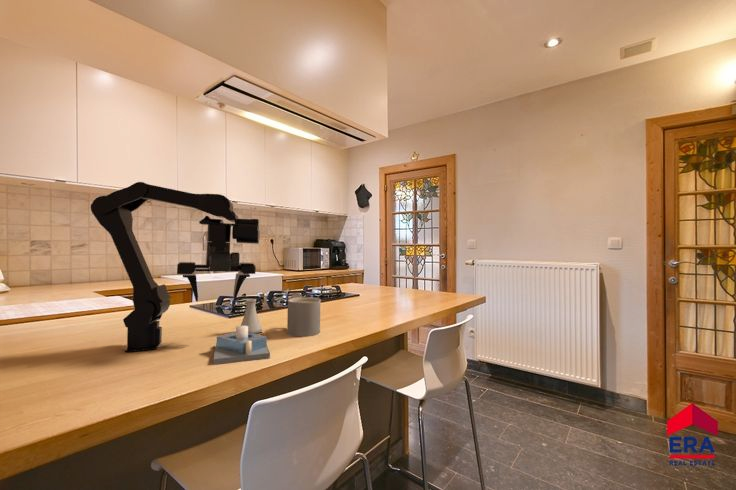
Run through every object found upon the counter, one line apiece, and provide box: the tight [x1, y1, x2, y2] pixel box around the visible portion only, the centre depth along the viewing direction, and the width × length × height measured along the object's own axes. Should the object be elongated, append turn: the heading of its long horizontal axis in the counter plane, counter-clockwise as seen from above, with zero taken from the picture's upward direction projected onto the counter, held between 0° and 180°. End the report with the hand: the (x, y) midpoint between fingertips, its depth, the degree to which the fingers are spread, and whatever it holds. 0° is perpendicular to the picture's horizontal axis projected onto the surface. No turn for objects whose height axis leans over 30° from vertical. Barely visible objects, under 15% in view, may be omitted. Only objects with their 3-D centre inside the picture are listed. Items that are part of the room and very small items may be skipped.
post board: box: [213, 325, 271, 365], centre depth 80 cm, size 12×14×6 cm
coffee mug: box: [286, 297, 322, 338], centre depth 101 cm, size 13×10×10 cm
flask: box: [240, 298, 263, 335], centre depth 99 cm, size 7×7×10 cm
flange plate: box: [216, 331, 268, 355], centre depth 80 cm, size 10×7×3 cm
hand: (216, 300), depth 86 cm, fingers open, 9 cm apart
